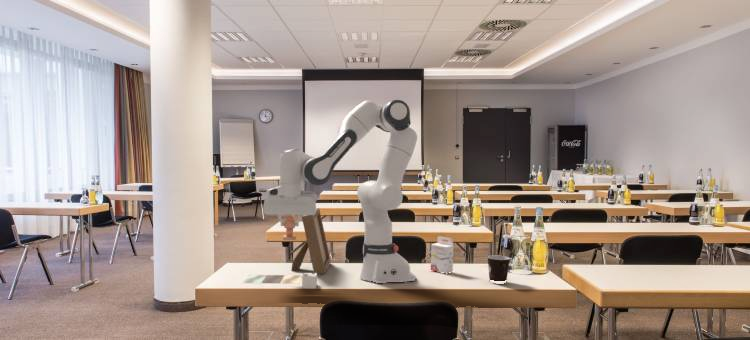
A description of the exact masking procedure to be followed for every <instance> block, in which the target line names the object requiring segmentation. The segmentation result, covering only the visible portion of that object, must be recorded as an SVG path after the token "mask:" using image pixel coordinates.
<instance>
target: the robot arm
mask: <svg viewBox="0 0 750 340" xmlns="http://www.w3.org/2000/svg"><path fill="white" fill-rule="evenodd" d="M411 122H412V121H411V111H410V107H409V105H408V104H407V103H406V102H405V101H404V100H402V99H393V100H389V101H388V102H387V103H386V104H385V105H384V106H379V105H378V104H377V103H376V102H374V101H373V100H370V99H369V100H368V99H366V100H364V101H362V102H360V103H359V104H358V105H357V106H356V107H354V108H353V109H352V110H351V111H350V112H348V114H347V115H345V116H344V118H343V119H342V121H341V122H340V123H339V125H338V127H337V137H336V138H335V140H334V142H333V143H331V145H329V147H328V148H327V149H326V150H325V151H324V152H323V154H322V155H320V156H317V157H314V156H311V155H309V154H308V153H305V152H304V151H303V150H301V149H300V148H292V149H286V150H284V151H282V152H281V154H280V156H279V165H278V170H279V171H278V173H279V180H278V186H273V187H272V188H270V189H269V188H268V189H267V191H266V195H267V196H266V197H265V198H264V201H263V208H262V209H263V210H262V211H263V213H264V215H277V219H278V221H280V227H285V220H283V218H282V217H283V215H287V216H292V215H293V216H295V215H297V218H298V219H297V220H295V227H299V226H300V225H299V224H300V221H301V219H302V216H303V215H314V214H315V213H316V209H317V205H316V204H317V201H318V194H317V193H316V192H314V190H310V191H309V190H303V181H307V182H309V184H311V185H314V186H322V185H324V184H326V183H328V181H329V180H330V179H331V177H332V175H333V172H334V169H335V167H336V166H337V164H338V163H339V162H341V160H342V158H344V156H345V155H346V154H347V153H348V152H349V151H350V149H353V147H354V146H355V145H356V144H358V143H359V142H360V141H361V140H362V139H363V138H365V137H366V136H367V135H368V134H369V133H370V132H371V130H373V128H375V127H376V128H378V129H380V130H381V131H383V132H386V133H390V137H389V140H388V142H387V144H386V147H385V149H384V151H383V153H382V156H381V157H380V159H379V161H378V168H379V169H378V170H379V172H378V176H377V180H367V181H364V182H362V183H361V184H360V185H359V186H358V188H357V199H358V200H359V202H360V204H361V205H360V207H361V209H362V210H361V211H362V214H363V221H364V241H363V244H362V256H363V261H362V268H361V272H360V275H359V278H360V279H361V280H363V281H366V280H367V281H366V282H371V281H373V282H372V283H374V282H376V283H375V284H377V283H383V284H387V283H386V282H401V281H414V280H415V279H416V280H417V278H416V274H415V273H413V272H412V271H411V266H410V264H409V261H407V260H406V259H405V258H404V257H403V256H402V255H400V254H399V253H398V251H399V248H400V247H399V246H398V245H397V244H395V243H393V223H392V220H391V219H390V217H389V214H388V213H389V212H388V211H392V210H396V209H398V208H399V207H400V205H402V202H403V192H402V185H403V180H404V176H405V172H406V171H407V168H408V165H409V163H410V161H411V158H412V156H413V154H414V151H415V148H416V143H417V142H418V141H417V140H418V134H417V132H416V131H415V130H414V129H413V128H411V127H410V126H411V124H412V123H411ZM416 280H415V281H416ZM415 281H414V282H415Z"/></svg>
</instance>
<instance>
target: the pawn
mask: <svg viewBox="0 0 750 340" xmlns="http://www.w3.org/2000/svg"><path fill="white" fill-rule="evenodd" d="M284 221H285V226H284V229H285V230H286V231H285V234H284V235H282V241H296V240H297V235H294V229H295V228H296V226H295V221H296V220H295V218H294V216H292V215H287V216H286V218H285V219H284Z"/></svg>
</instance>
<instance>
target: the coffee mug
mask: <svg viewBox="0 0 750 340" xmlns="http://www.w3.org/2000/svg"><path fill="white" fill-rule="evenodd" d="M510 260H511V259H510V257H509V256H506V255H501V254H500V255H497V254H492V255H487V267H488V277H489V279H490V280H494V281H505V280H508V274H509V273H508V272H509V269H510V268H509V267H510ZM490 280H489V281H490Z"/></svg>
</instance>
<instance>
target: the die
mask: <svg viewBox="0 0 750 340" xmlns="http://www.w3.org/2000/svg"><path fill="white" fill-rule="evenodd" d="M317 284H318V274H317V273H314V272H303V274H302V278H301V289H317Z"/></svg>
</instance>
